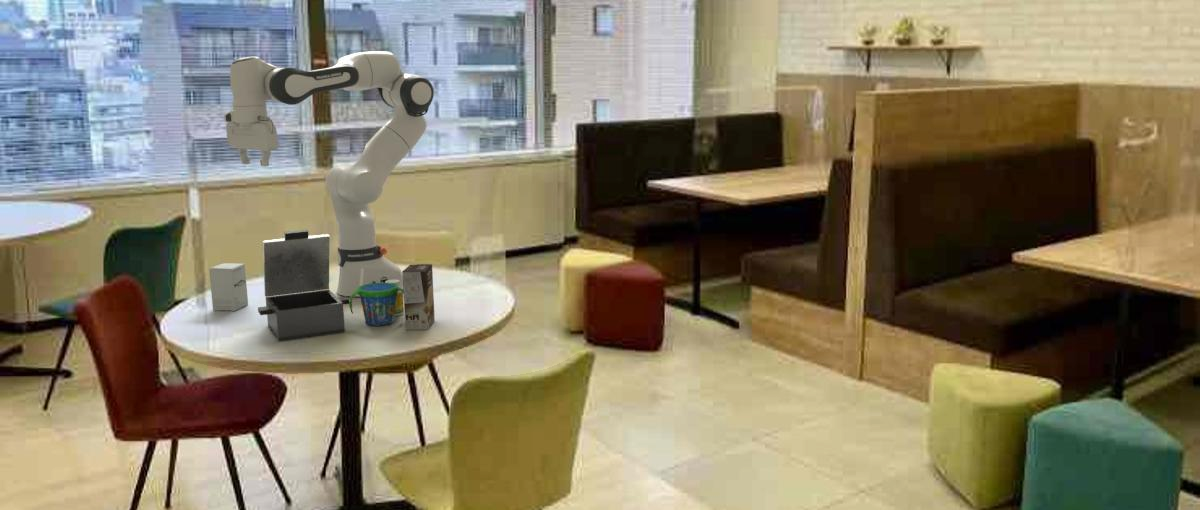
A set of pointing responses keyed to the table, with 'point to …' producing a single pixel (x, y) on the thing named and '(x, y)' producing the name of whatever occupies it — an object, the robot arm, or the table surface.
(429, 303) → the coffee box
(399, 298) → the supplement bottle
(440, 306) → the table surface
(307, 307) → the cooker pot
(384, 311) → the snack cup
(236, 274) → the supplement box
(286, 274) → the lid
